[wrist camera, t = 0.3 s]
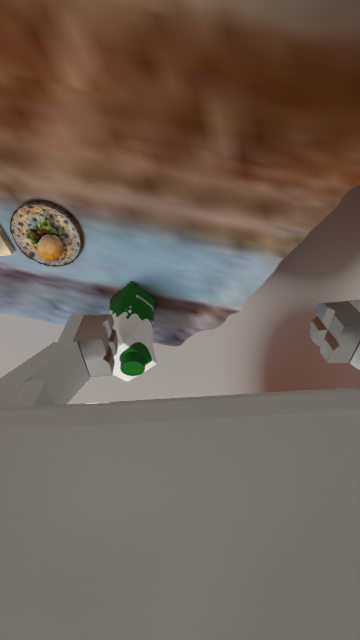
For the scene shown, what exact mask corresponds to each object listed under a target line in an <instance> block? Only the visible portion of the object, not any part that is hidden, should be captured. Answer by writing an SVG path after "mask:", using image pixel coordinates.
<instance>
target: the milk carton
mask: <svg viewBox="0 0 360 640" xmlns="http://www.w3.org/2000/svg"><path fill="white" fill-rule="evenodd" d="M154 308H155V299H154V298H152V297H151V296H150V295H149V294H147V293H146V292H145V291H143V290H142V289H141V288H140V287H138V286H137V285H136V284H135V283H133V282H130V283H129V284H128V285H127V286H126V287H125V288H123V289H122V290H121V291H120V292H119V293H118V294H116V295H115V296H114V297H113V298H112V299H111V300H110V308H109V314H111V315H112V317H113V320H114V325H113V329H114V330H115V331H116V333H117V339H118V349H117V354H116V355H115V356H114V361H115V364H114V369H113V375H115V376H117V377H119V378H121V379H123V380H125V381H127V382H128V381H130V380H131V379H133V378H134V377H137V376H139V375H141V374H142V373H143V372H145V371H146V370H148V369H150V368H151V367H152V366H154V365H156V364H157V362H156V358H155V353H154V349H153V319H154Z"/></svg>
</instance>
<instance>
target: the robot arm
mask: <svg viewBox="0 0 360 640" xmlns="http://www.w3.org/2000/svg"><path fill="white" fill-rule="evenodd" d="M315 313H316V315H317V316H316V317H315V318H314V319H313V320H312V321H311V325H310V335H311V338H312V340H313V342H314V343H315V344H317V345H319V346H320V347H321V349H320V352H321V354H322V355H323V357H324V358H325V360H326V361H327V362H328V363H344V362H345V363H347V362H350V364H352V365H353V366H354V367H356V368H357V369H359V370H360V301H359V300H352V301H343V302H328V303H319V304H318V305H317V307H316V310H315ZM113 325H114V320H113V317H112V315H111V314H86V315H72V316H70V318H69V320H68V322H67V324H66V326H65V328H64V330H63V332H62V334H61V336H60V338H59V340H58V342H54V343H52V344H51V345H49V346H48V347H46V348H45V349H43V350H42V351H40V352H39V353H37V354H36V355H34V356H33V357H31V358H30V359H28V360H27V361H25V362H24V363H22V364H21V365H19V366H18V367H17V368H15V369H13V370H12V371H11V372H9V373H8V374H6V375H5V376H3V377H2V378H0V640H360V388H342V389H325V390H308V391H290V392H273V393H255V394H238V395H221V396H204V397H189V398H171V399H153V400H136V401H119V402H102V403H85V404H69V405H66V404H67V403H68V402H69V401H70V400H71V399H72V397H73V396H74V395H75V394H76V393H77V392H78V391H79V390H80V389H81V388H82V386H83V385H84V384H85V383H86V382H87V381H88V380H89V379H90V377H97V376H109V375H112V374H113V369H114V364H115V361H114V356H115V355H116V354H117V349H118V339H117V333H116V331H115V330H114V329H113Z"/></svg>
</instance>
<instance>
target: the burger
mask: <svg viewBox="0 0 360 640" xmlns="http://www.w3.org/2000/svg"><path fill="white" fill-rule="evenodd" d="M10 231H11V234H12V236H13V238H14V240H15V242H16V244H17V246H18V247H19V248H20V250H21V251H22V253H23V254H25V255H26V256H27V257H28V258H30V259H32V260H35V261H37V262H38V263H40V264H44V265H46V266H53V267H54V266H58V267H59V266H64V265H68V264H70V263H72V262H73V261H74V260H75V259H76V258H77V257H78V256H79V254H80V253H81V251H82V248H83V244H84V238H83V233H82V230H81V227H80V225H79V224H78V222H77V221H76V219H75V218H74V217H73V216H72V215H71V214H70V213H69V212H68V211H67V210H66V209H63V208H61V207H60V206H59V207H57V206H56V204H55V205H53V202H49V201H46V200H40V201H37V202H31V203H26V204H23V205H22V206H21V207H19V208H18V209H17V210H16V211H15V212H14V214H13V215H12V218H11V222H10Z"/></svg>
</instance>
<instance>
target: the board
mask: <svg viewBox="0 0 360 640" xmlns="http://www.w3.org/2000/svg"><path fill="white" fill-rule="evenodd" d="M14 251H15V249H14V248H13V246H12V244H11V243H10V241H9V239H8V238H7V236H6V234H5V233H4V231H3V230H2V228H1V226H0V256H5V255H12V254H13V253H14Z"/></svg>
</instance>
